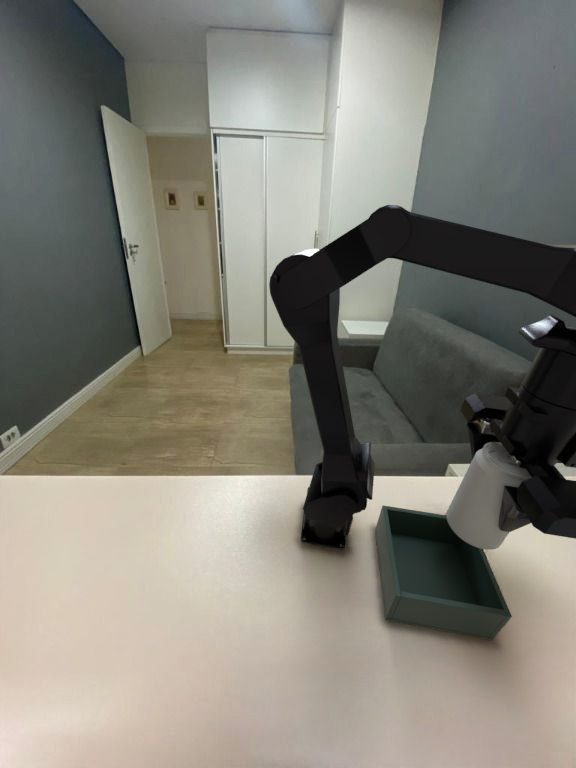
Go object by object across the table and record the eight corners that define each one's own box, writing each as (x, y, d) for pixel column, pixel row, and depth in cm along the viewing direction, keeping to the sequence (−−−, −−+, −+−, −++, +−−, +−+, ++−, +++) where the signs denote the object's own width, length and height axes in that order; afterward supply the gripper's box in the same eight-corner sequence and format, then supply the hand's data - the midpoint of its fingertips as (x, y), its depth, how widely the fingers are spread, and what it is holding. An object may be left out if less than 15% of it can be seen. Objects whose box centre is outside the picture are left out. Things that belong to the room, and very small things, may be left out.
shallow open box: (385, 619, 37) (395, 595, 34) (375, 529, 47) (382, 505, 45) (492, 640, 36) (512, 616, 33) (457, 542, 46) (470, 518, 43)
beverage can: (508, 559, 36) (562, 486, 30) (451, 546, 37) (492, 472, 31) (488, 514, 41) (530, 445, 36) (438, 503, 42) (472, 434, 36)
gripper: (774, 482, 20) (627, 603, 28) (580, 362, 36) (521, 460, 44) (593, 457, 21) (500, 581, 29) (482, 351, 37) (441, 449, 45)
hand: (490, 505), depth 37 cm, fingers closed on beverage can, 6 cm apart
